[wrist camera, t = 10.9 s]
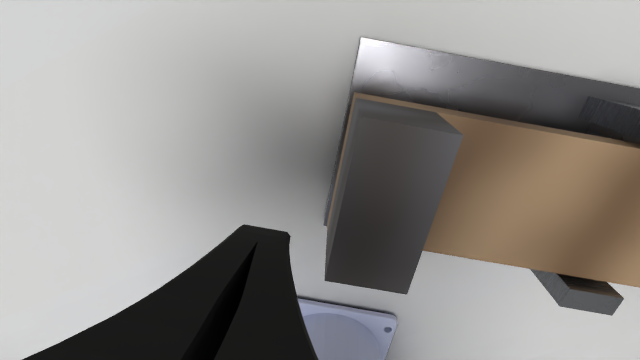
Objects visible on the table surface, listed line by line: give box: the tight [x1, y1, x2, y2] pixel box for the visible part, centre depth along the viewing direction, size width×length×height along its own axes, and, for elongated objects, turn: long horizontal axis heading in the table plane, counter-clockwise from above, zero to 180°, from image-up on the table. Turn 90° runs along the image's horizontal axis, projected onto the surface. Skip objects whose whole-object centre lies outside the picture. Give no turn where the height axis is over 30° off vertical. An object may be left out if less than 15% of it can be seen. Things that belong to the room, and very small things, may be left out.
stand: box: [324, 37, 640, 315], centre depth 16 cm, size 24×10×5 cm, turn 81°
